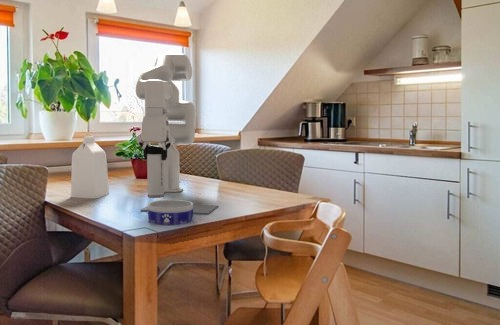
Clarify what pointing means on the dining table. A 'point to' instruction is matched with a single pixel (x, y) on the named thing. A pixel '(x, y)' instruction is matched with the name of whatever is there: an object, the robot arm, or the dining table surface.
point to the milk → (89, 170)
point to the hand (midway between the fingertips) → (155, 159)
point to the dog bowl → (170, 212)
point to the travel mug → (155, 172)
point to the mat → (197, 209)
